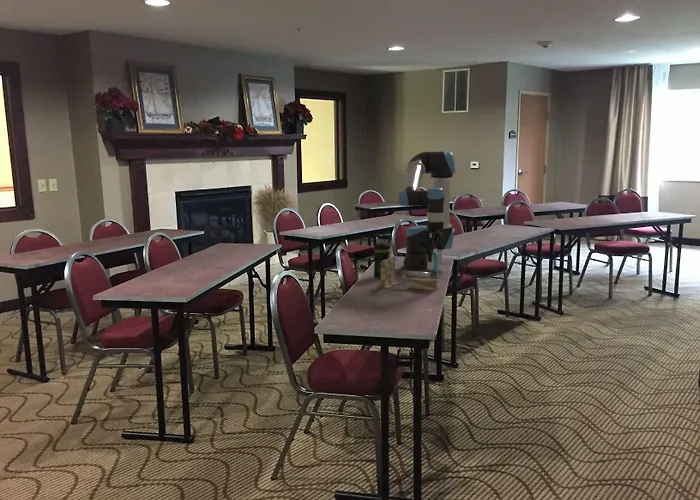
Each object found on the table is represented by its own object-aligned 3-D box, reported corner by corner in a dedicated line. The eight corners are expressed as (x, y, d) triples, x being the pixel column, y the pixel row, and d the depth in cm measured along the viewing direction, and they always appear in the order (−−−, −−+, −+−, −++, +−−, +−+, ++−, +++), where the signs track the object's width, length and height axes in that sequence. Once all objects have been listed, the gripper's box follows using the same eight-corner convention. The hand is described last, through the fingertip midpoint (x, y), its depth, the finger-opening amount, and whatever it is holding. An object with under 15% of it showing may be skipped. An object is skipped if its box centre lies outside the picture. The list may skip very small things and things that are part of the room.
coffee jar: (386, 279, 300) (386, 243, 297) (372, 278, 303) (372, 243, 300) (392, 275, 309) (392, 240, 306) (378, 274, 312) (378, 240, 308)
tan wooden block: (388, 281, 295) (388, 256, 293) (399, 282, 292) (399, 257, 290) (376, 287, 283) (376, 261, 280) (388, 288, 280) (388, 262, 278)
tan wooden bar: (412, 286, 283) (412, 277, 283) (437, 289, 278) (437, 280, 277) (409, 288, 281) (410, 279, 280) (435, 290, 275) (435, 281, 274)
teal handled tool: (404, 276, 284) (404, 249, 282) (439, 279, 277) (439, 252, 274) (402, 277, 282) (402, 251, 279) (436, 281, 274) (437, 253, 272)
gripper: (436, 217, 284) (435, 260, 287) (418, 224, 262) (418, 270, 265) (451, 218, 280) (450, 261, 284) (434, 224, 258) (434, 271, 262)
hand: (435, 265), depth 275 cm, fingers open, 13 cm apart
